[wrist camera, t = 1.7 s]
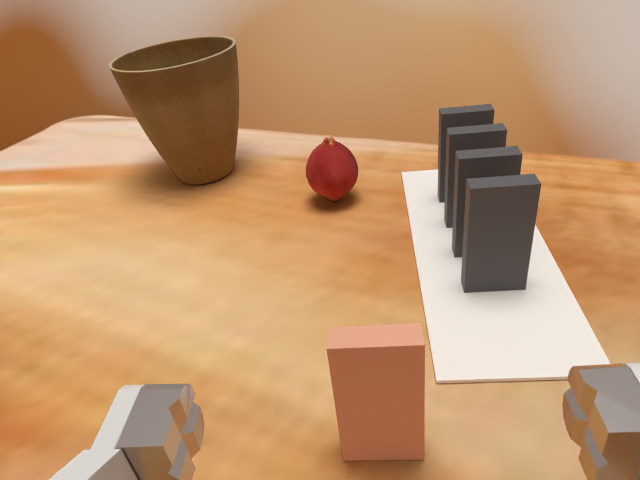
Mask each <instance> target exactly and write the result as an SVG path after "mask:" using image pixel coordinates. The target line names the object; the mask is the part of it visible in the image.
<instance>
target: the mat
mask: <svg viewBox="0 0 640 480" xmlns="http://www.w3.org/2000/svg"><path fill="white" fill-rule="evenodd" d="M401 175H402V180H403V186H404V192H405V198H406V204H407V210H408V216H409V222H410V228H411V234H412V240H413V246H414V252H415V258H416V264H417V270H418V276H419V282H420V288H421V294H422V300H423V306H424V312H425V318H426V324H427V330H428V336H429V342H430V348H431V354H432V360H433V366H434V372H435V378H436V384H437V383H470V382H502V381H535V380H567V378H568V374H569V370H570V369H571V368H572V366H585V365H602V364H610V362H609V360H608V358H607V357H606V355H605V353H604V351H603V349H602V347H601V345H600V344H599V342H598V340H597V338H596V336H595V334H594V333H593V331H592V329H591V327H590V325H589V323H588V321H587V320H586V318H585V316H584V314H583V312H582V310H581V308H580V307H579V305H578V303H577V301H576V299H575V297H574V295H573V294H572V292H571V290H570V288H569V286H568V284H567V282H566V281H565V279H564V277H563V275H562V273H561V271H560V269H559V268H558V266H557V264H556V262H555V260H554V258H553V256H552V255H551V253H550V251H549V249H548V247H547V245H546V243H545V242H544V240H543V238H542V236H541V234H540V232H539V230H538V229H537V227H536V225H535V229H534V236H533V242H532V249H531V256H530V263H529V269H528V276H527V283H526V290H513V291H492V292H472V293H464V291H463V287H462V283H461V269H462V257H457V258H454V254H453V250H452V229H453V228H446V225H445V221H444V206H445V202H443V203H439V199H438V170H425V171H412V172H401Z"/></svg>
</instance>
